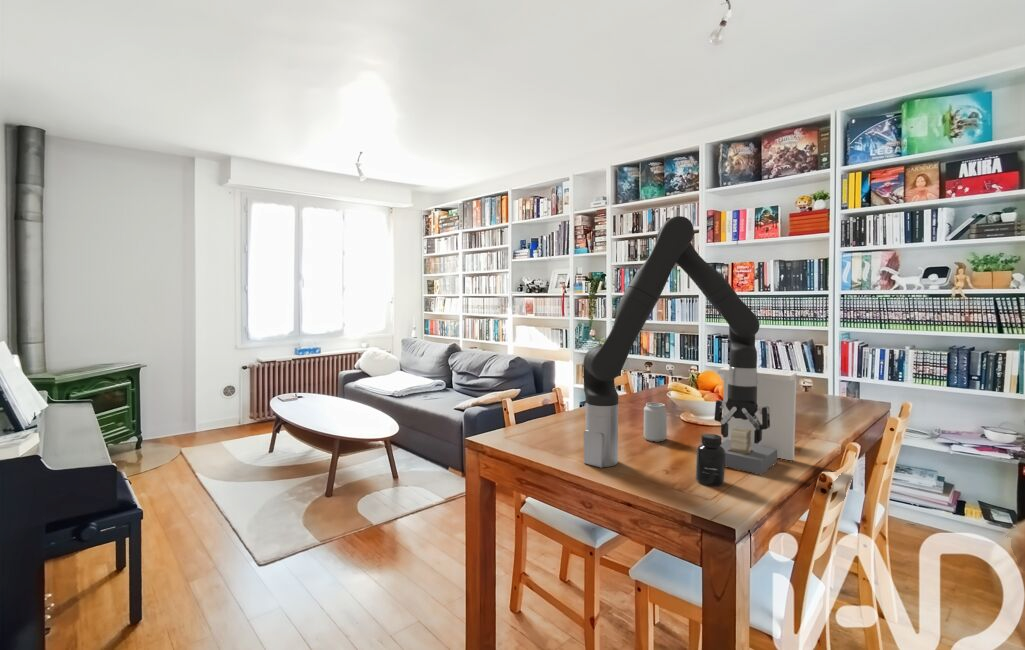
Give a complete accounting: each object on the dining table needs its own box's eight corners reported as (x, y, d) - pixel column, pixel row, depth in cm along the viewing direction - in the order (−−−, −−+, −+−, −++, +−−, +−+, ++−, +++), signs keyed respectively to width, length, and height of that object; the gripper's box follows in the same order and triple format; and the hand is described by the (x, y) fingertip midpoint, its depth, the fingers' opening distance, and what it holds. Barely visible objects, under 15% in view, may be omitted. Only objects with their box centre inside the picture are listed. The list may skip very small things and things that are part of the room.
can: (664, 436, 170) (664, 401, 170) (668, 442, 163) (669, 406, 162) (641, 435, 171) (642, 401, 170) (645, 442, 164) (645, 406, 163)
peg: (745, 468, 139) (746, 432, 138) (730, 464, 141) (731, 430, 141) (750, 464, 141) (751, 429, 141) (735, 461, 144) (736, 427, 144)
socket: (761, 475, 133) (761, 460, 133) (708, 463, 142) (709, 449, 142) (777, 462, 143) (777, 448, 143) (727, 452, 153) (727, 439, 152)
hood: (787, 465, 140) (790, 375, 139) (716, 451, 154) (717, 368, 153) (794, 460, 145) (796, 373, 144) (724, 446, 159) (725, 366, 157)
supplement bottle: (707, 488, 124) (708, 440, 123) (690, 478, 131) (691, 433, 130) (730, 485, 126) (731, 438, 125) (712, 476, 132) (713, 431, 132)
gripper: (711, 381, 142) (710, 437, 143) (765, 387, 132) (763, 448, 133) (721, 378, 148) (720, 432, 148) (774, 384, 138) (772, 442, 139)
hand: (740, 439), depth 141 cm, fingers open, 8 cm apart
